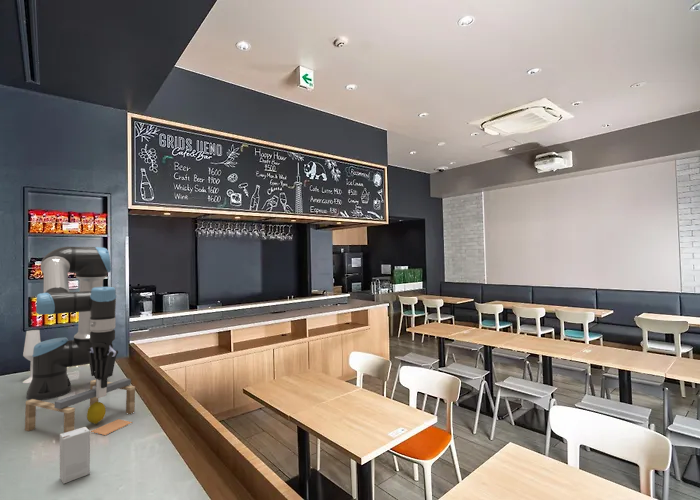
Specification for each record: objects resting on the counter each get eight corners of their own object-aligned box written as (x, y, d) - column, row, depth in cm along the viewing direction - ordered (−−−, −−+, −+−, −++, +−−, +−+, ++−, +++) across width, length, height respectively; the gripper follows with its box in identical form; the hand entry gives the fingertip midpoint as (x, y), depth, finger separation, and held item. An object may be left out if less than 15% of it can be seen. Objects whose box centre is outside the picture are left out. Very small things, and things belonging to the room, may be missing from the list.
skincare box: (85, 468, 102) (86, 425, 103) (90, 474, 100) (91, 430, 100) (58, 478, 98) (59, 433, 98) (62, 485, 95) (63, 438, 95)
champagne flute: (25, 379, 177) (26, 330, 178) (42, 377, 180) (44, 329, 181) (19, 383, 171) (21, 332, 172) (37, 381, 174) (39, 331, 175)
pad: (90, 432, 124) (90, 431, 124) (118, 420, 133) (118, 419, 133) (105, 435, 121) (105, 434, 121) (132, 423, 131) (132, 422, 131)
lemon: (95, 428, 127) (96, 405, 127) (82, 426, 128) (83, 403, 128) (109, 421, 132) (109, 399, 132) (96, 420, 133) (97, 398, 134)
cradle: (24, 430, 125) (25, 401, 125) (94, 404, 148) (95, 379, 148) (67, 441, 117) (68, 410, 118) (134, 412, 140) (135, 386, 140)
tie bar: (54, 407, 119) (54, 397, 119) (124, 383, 143) (125, 375, 143) (60, 409, 118) (60, 399, 118) (130, 384, 142) (130, 376, 142)
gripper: (79, 330, 129) (77, 397, 128) (105, 333, 125) (103, 403, 124) (100, 327, 136) (98, 390, 135) (125, 329, 132) (124, 395, 131)
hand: (101, 396), depth 130 cm, fingers closed
